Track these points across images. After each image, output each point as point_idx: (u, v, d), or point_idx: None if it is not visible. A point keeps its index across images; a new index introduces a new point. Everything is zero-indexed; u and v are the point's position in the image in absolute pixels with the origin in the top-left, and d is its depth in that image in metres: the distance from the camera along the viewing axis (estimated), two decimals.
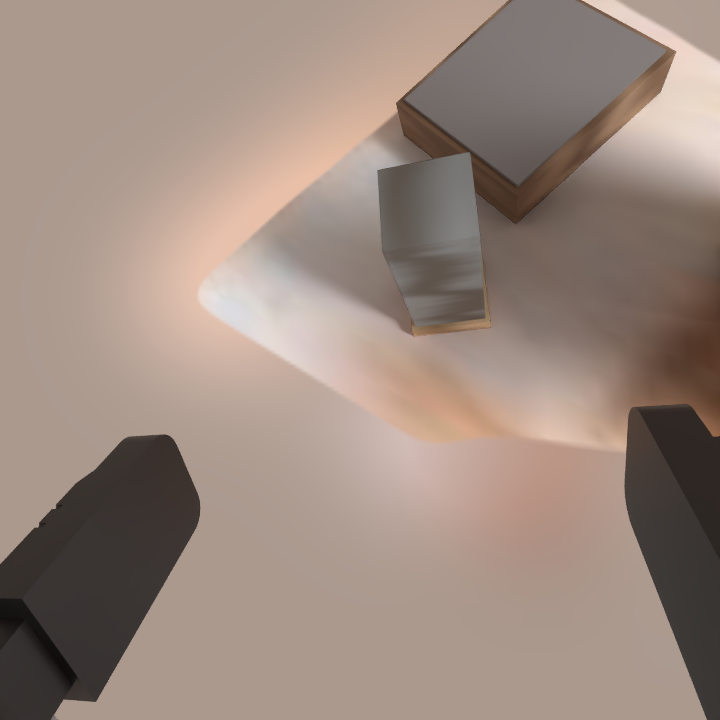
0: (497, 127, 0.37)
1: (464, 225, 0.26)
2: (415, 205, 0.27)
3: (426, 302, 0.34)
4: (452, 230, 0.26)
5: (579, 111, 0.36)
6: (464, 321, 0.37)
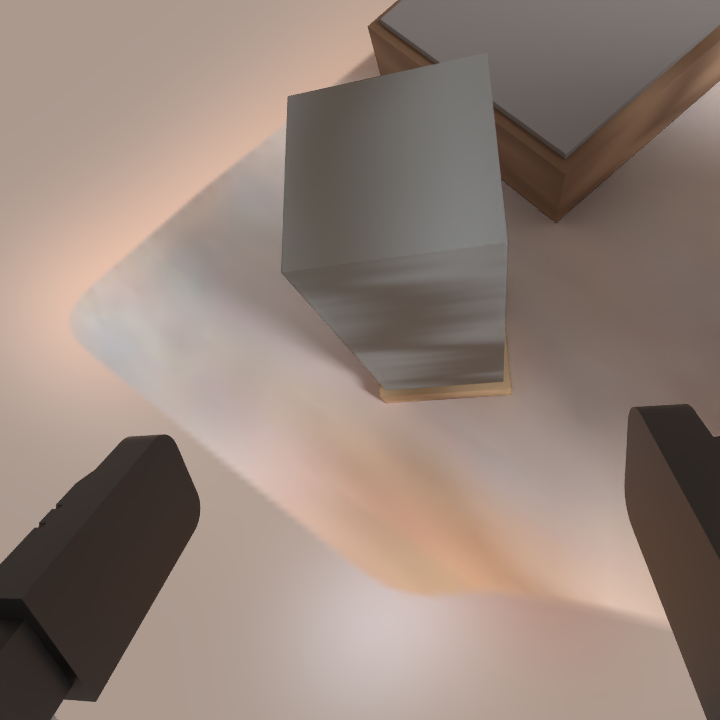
0: (532, 60, 0.22)
1: (469, 217, 0.11)
2: (361, 169, 0.12)
3: (399, 360, 0.18)
4: (440, 227, 0.11)
5: (675, 31, 0.21)
6: (468, 384, 0.22)
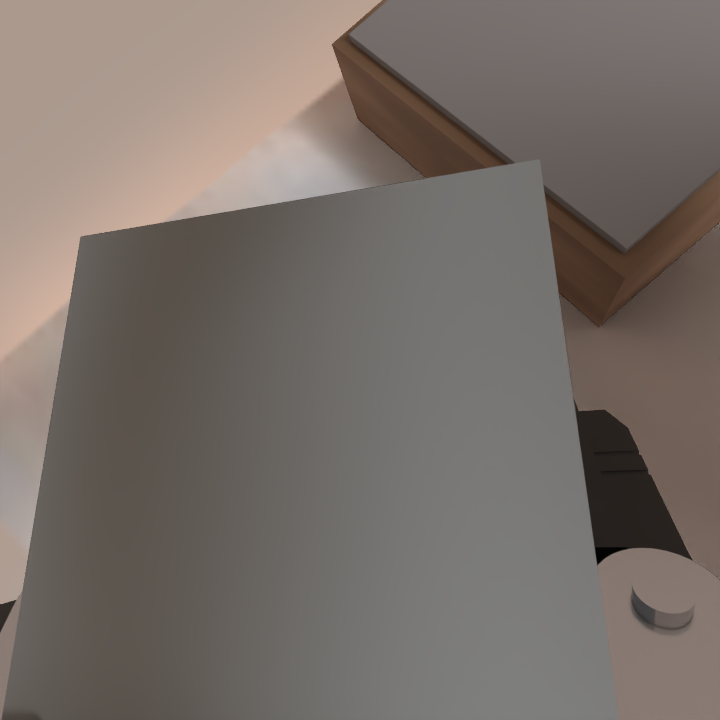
0: (568, 97, 0.15)
1: (504, 687, 0.04)
2: (216, 461, 0.05)
3: None
4: (417, 704, 0.04)
5: None
6: None
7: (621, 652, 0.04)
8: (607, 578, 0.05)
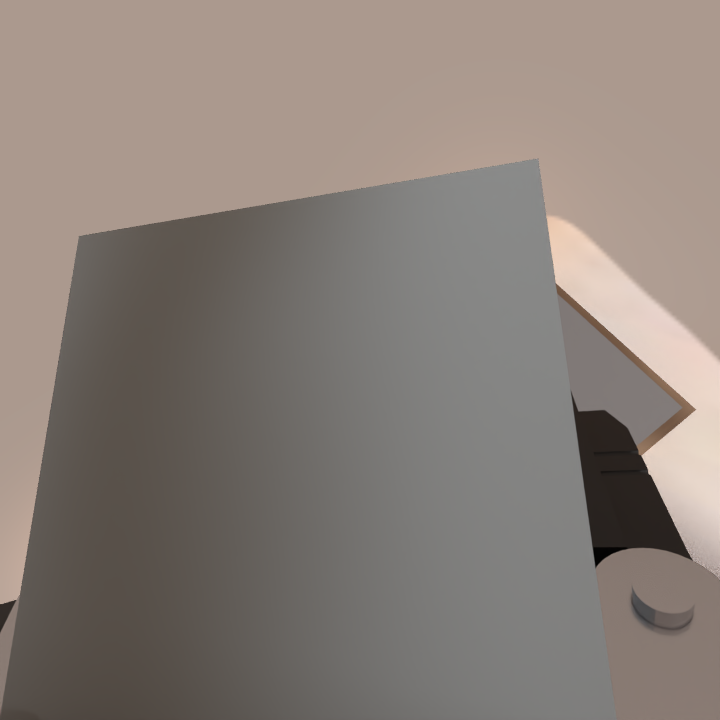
0: None
1: (501, 687, 0.04)
2: (215, 460, 0.05)
3: None
4: (415, 705, 0.04)
5: None
6: None
7: (620, 652, 0.04)
8: (607, 578, 0.05)
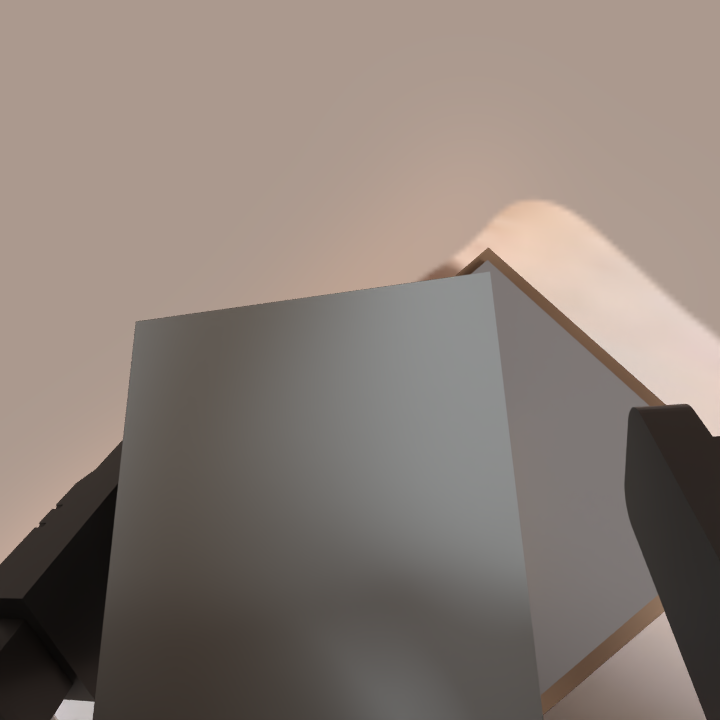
0: None
1: (462, 668, 0.05)
2: (251, 503, 0.06)
3: None
4: (402, 680, 0.05)
5: (559, 630, 0.16)
6: None
7: None
8: None
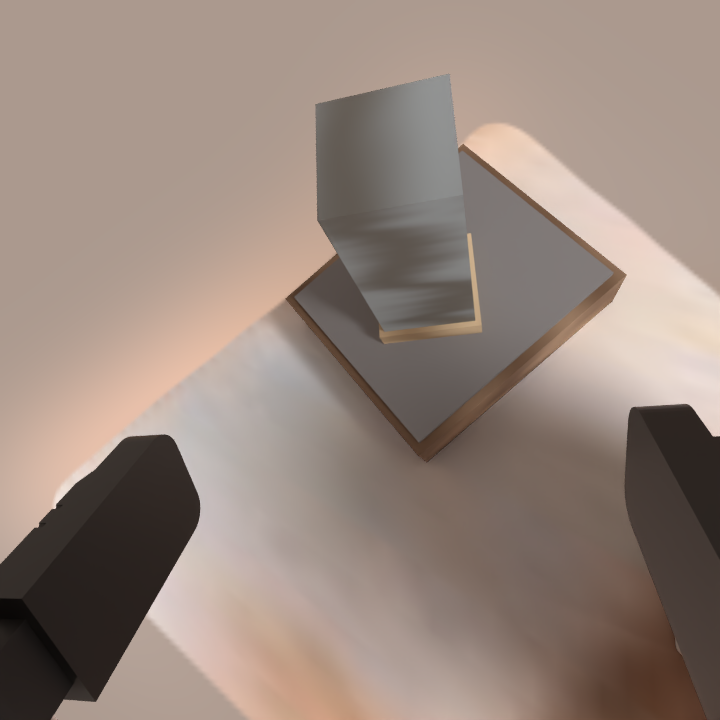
0: (400, 355, 0.30)
1: (439, 180, 0.17)
2: (368, 152, 0.18)
3: (394, 299, 0.25)
4: (421, 187, 0.17)
5: (501, 347, 0.28)
6: (448, 324, 0.28)
7: None
8: None
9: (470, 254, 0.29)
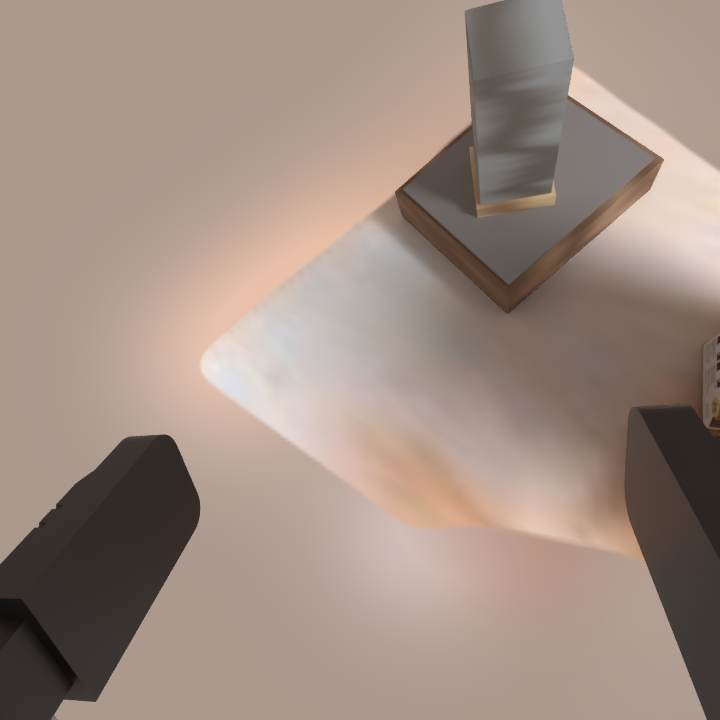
0: (491, 224, 0.39)
1: (556, 51, 0.27)
2: (505, 37, 0.28)
3: (499, 165, 0.34)
4: (544, 55, 0.27)
5: (569, 214, 0.38)
6: (530, 196, 0.38)
7: None
8: None
9: None
